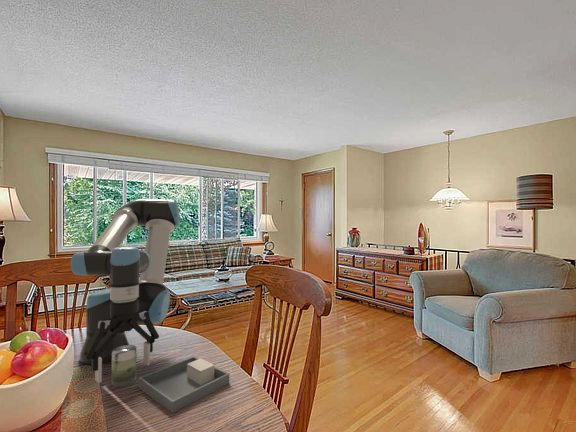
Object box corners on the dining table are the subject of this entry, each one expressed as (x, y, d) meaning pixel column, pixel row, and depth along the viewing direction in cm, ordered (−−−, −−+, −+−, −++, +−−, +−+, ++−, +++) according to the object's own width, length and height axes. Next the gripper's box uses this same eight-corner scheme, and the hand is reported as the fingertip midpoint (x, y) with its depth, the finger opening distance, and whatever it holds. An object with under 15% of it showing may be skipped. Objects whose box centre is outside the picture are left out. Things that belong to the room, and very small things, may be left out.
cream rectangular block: (186, 377, 93) (187, 363, 93) (200, 371, 97) (200, 358, 97) (200, 385, 88) (200, 371, 88) (214, 378, 92) (214, 365, 92)
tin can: (107, 384, 90) (108, 350, 90) (130, 375, 95) (130, 343, 95) (116, 392, 86) (117, 356, 86) (140, 382, 91) (140, 348, 91)
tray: (138, 390, 87) (138, 377, 87) (193, 366, 101) (193, 356, 101) (172, 416, 76) (172, 402, 76) (229, 385, 90) (229, 373, 90)
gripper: (80, 311, 79) (79, 394, 79) (170, 294, 98) (169, 360, 98) (71, 306, 84) (69, 384, 83) (158, 290, 103) (158, 354, 103)
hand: (123, 372), depth 91 cm, fingers open, 13 cm apart
